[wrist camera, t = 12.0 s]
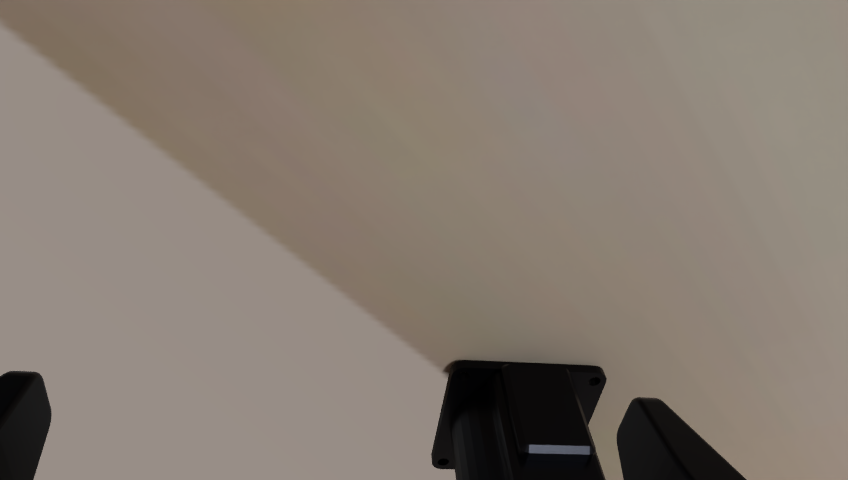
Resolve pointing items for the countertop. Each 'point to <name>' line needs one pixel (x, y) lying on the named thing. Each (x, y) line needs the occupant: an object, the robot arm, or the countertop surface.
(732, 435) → the countertop surface
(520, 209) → the countertop surface
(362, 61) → the countertop surface
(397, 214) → the countertop surface
